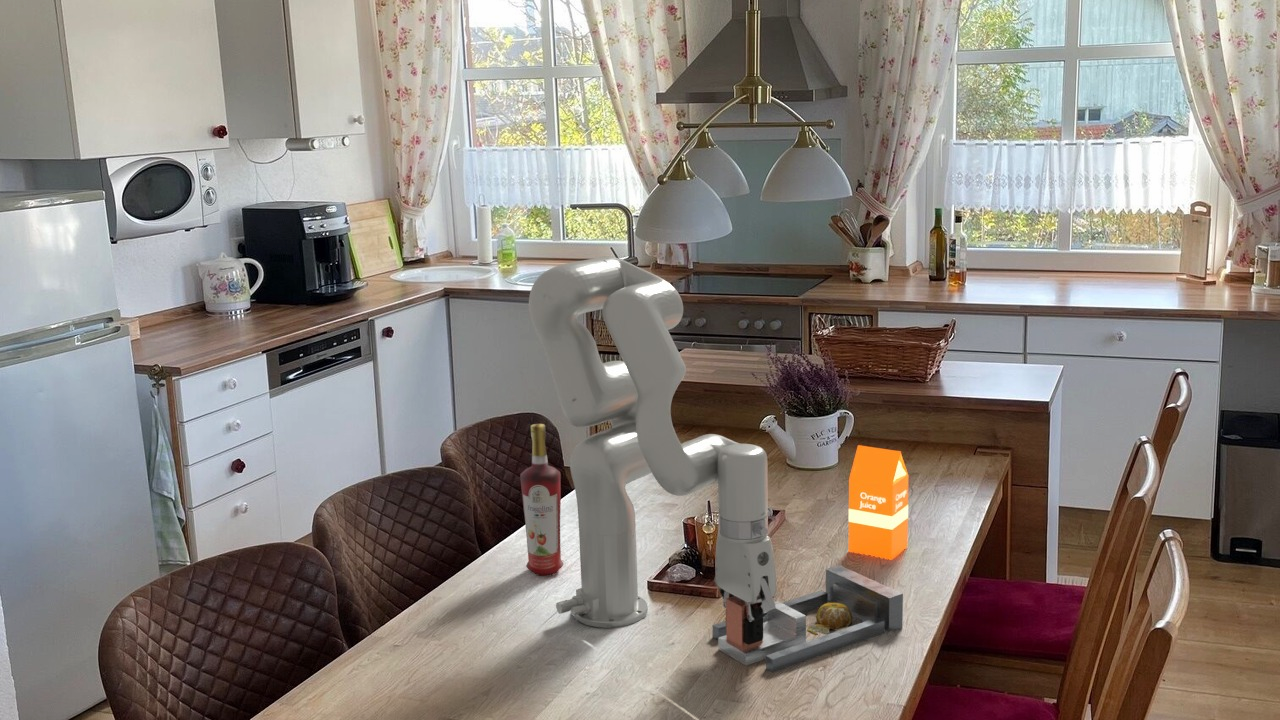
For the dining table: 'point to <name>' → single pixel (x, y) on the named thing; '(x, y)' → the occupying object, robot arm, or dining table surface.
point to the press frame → (861, 598)
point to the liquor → (542, 508)
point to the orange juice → (878, 503)
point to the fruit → (831, 618)
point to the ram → (777, 632)
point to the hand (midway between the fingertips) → (744, 635)
